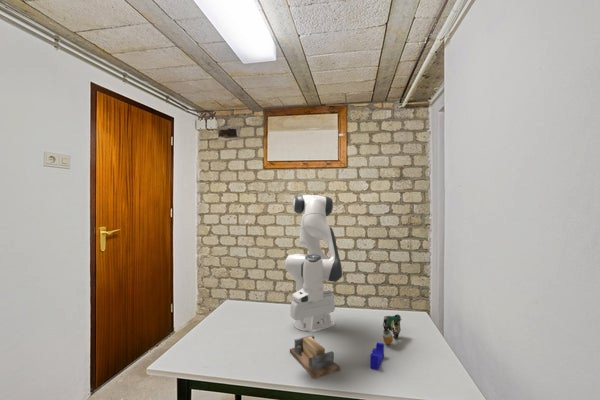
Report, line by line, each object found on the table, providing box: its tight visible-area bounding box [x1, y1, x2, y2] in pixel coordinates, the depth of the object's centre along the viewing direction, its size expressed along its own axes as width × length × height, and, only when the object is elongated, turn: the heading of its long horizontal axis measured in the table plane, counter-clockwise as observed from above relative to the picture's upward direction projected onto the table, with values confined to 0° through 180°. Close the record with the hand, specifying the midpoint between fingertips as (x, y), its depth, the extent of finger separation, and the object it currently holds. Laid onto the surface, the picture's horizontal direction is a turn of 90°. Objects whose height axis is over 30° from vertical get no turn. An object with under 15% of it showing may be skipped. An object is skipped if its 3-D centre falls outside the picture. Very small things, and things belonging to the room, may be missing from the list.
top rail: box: [302, 336, 326, 358], centre depth 128 cm, size 4×12×6 cm, turn 27°
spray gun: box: [382, 314, 402, 345], centre depth 145 cm, size 4×17×15 cm, turn 137°
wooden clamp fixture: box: [289, 334, 341, 379], centre depth 128 cm, size 12×22×6 cm, turn 27°
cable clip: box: [369, 342, 385, 371], centre depth 128 cm, size 12×4×6 cm, turn 153°
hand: (313, 325), depth 129 cm, fingers open, 8 cm apart
